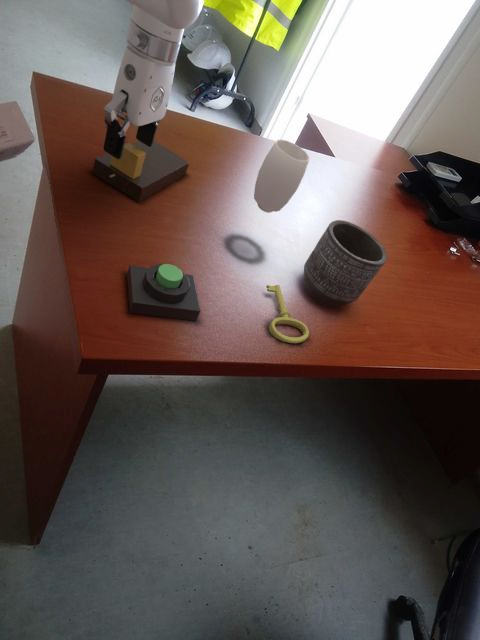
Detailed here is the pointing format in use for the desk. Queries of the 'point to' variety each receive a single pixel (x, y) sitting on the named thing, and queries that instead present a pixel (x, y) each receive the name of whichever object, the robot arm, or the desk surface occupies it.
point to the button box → (161, 295)
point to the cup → (280, 175)
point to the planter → (342, 264)
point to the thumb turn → (129, 160)
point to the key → (285, 319)
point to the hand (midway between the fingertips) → (128, 148)
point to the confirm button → (169, 276)
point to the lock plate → (144, 171)
